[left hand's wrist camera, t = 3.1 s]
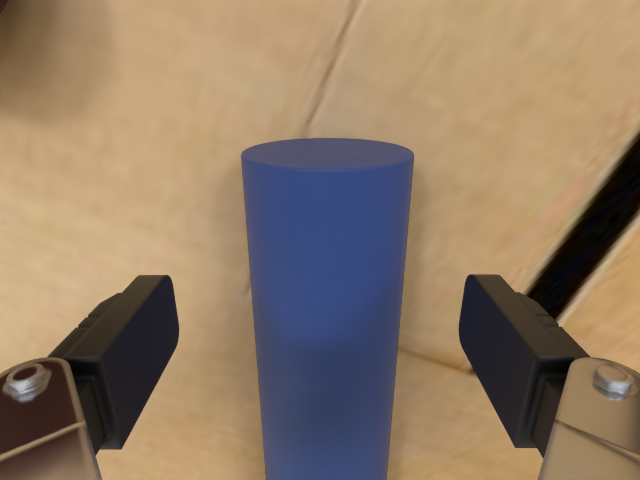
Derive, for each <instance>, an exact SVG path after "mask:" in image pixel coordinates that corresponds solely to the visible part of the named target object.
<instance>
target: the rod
mask: <svg viewBox="0 0 640 480" xmlns="http://www.w3.org/2000/svg"><path fill="white" fill-rule="evenodd" d="M241 160H242V173H243V186H244V199H245V212H246V225H247V238H248V251H249V264H250V277H251V290H252V303H253V316H254V329H255V341H256V354H257V367H258V380H259V393H260V406H261V419H262V432H263V445H264V458H265V471H266V480H386V479H387V467H388V455H389V444H390V432H391V420H392V409H393V397H394V385H395V374H396V362H397V350H398V339H399V327H400V315H401V303H402V292H403V280H404V268H405V257H406V245H407V233H408V222H409V210H410V198H411V187H412V175H413V163H414V154H413V152H412V151H411V150H409V149H407V148H405V147H402V146H399V145H395V144H391V143H386V142H380V141H372V140H361V139H342V138H313V139H294V140H284V141H276V142H269V143H264V144H260V145H256V146H253V147H250V148H248V149H246V150H244V151H243V152H242V154H241Z"/></svg>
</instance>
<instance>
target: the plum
mask: <svg viewBox="0 0 640 480" xmlns="http://www.w3.org/2000/svg"><path fill="white" fill-rule="evenodd" d="M7 1H8V0H0V13H1V12H2V10H3V9H4V7H5V6H6V4H7Z"/></svg>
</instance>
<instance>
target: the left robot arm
mask: <svg viewBox="0 0 640 480" xmlns="http://www.w3.org/2000/svg"><path fill="white" fill-rule="evenodd" d="M178 338H179V323H178V316H177V309H176V303H175V296H174V289H173V283H172V280H171V278H170V276H168V275H139V276H137V277H136V278H135V279H134V281H133V282H132V283H131V284H130V285H129V286H128V287H127V288H126V289H125V290H124V291H123V292H122V293H117V294H115V295H114V296H112V297H110V298H108V299H107V300H105V301H103V302H101V303H100V304H99V305H98V306H97V307H96V308H95V309H94V310H93V311H92V312H91V313H90V314H89V315H88V318H85V319H84V320H83V321H82V322H81V323H80V324H79V327H78V328H75V329H74V330H73V331H72V332H71V333H70V334H69V335H68V336H67V337H66V338H65V339H64V340H63V341H62V342H61V343H60V344H59V345H58V346H57V347H56V348H55V349H54V350H53V351H52V353H51V354H50V355H49V356H48V357H47V358H39V359H34V360H30V361H27V362H24V363H21V364H18V365H16V366H14V367H11V368H9V369H8V370H6V371H4V372H2V373H1V374H0V480H102V477H101V474H100V470H99V467H98V463H97V460H96V454H97V453H98V451H99V449H122V447H123V445H124V444H125V442H126V440H127V438H128V436H129V434H130V432H131V431H132V429H133V427H134V425H135V423H136V421H137V419H138V418H139V416H140V414H141V412H142V410H143V408H144V406H145V405H146V403H147V401H148V399H149V397H150V395H151V393H152V392H153V390H154V388H155V386H156V384H157V382H158V380H159V379H160V377H161V375H162V373H163V371H164V369H165V367H166V365H167V364H168V362H169V360H170V358H171V356H172V354H173V352H174V351H175V349H176V346H177V343H178ZM459 338H460V343H461V346H462V348H463V350H464V352H465V354H466V356H467V358H468V360H469V361H470V363H471V365H472V367H473V369H474V371H475V373H476V375H477V377H478V378H479V380H480V382H481V384H482V386H483V388H484V390H485V392H486V393H487V395H488V397H489V399H490V401H491V403H492V405H493V407H494V409H495V410H496V412H497V414H498V416H499V418H500V420H501V422H502V424H503V425H504V427H505V429H506V431H507V433H508V435H509V437H510V439H511V441H512V442H513V444H514V446H515V448H537V449H538V450H539V452H540V454H541V455H542V457H543V459H544V460H543V463H542V467H541V470H540V474H539V477H538V480H640V374H639V373H638V372H636V371H634V370H632V369H631V368H629V367H626V366H624V365H622V364H619V363H616V362H613V361H610V360H606V359H601V358H591V357H590V356H589V355H588V354H587V353H586V352H585V351H584V350H583V349H582V348H581V347H580V346H579V345H578V344H577V343H576V342H575V341H574V340H573V339H572V338H571V337H570V336H569V334H568V333H567V332H566V331H565V330H564V329H563V328H562V327H559V326H558V323H557V322H556V321H555V320H554V319H553V318H552V317H549V314H548V313H547V312H546V311H545V310H544V309H543V308H542V307H541V306H540V305H539V304H538V303H537V302H536V301H534V300H532V299H530V298H528V297H527V296H525V295H523V294H521V293H520V292H515V291H514V290H513V289H512V288H511V287H510V286H509V285H508V284H507V283H506V282H505V280H504V279H503V278H502V277H501V276H500V275H469V276H468V277H467V279H466V282H465V287H464V294H463V301H462V308H461V314H460V321H459Z"/></svg>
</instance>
